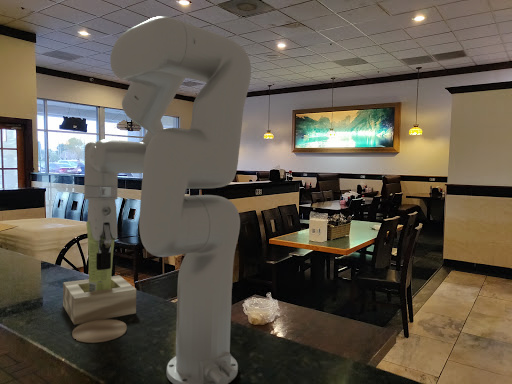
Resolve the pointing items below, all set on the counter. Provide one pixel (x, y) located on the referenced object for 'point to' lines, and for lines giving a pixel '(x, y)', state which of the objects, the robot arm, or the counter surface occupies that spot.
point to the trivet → (99, 331)
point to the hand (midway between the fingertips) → (100, 265)
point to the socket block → (98, 300)
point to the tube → (96, 277)
